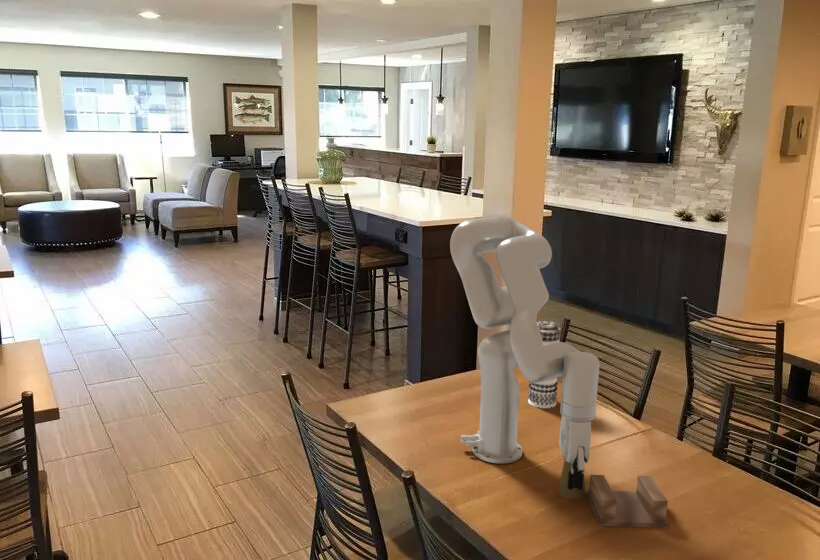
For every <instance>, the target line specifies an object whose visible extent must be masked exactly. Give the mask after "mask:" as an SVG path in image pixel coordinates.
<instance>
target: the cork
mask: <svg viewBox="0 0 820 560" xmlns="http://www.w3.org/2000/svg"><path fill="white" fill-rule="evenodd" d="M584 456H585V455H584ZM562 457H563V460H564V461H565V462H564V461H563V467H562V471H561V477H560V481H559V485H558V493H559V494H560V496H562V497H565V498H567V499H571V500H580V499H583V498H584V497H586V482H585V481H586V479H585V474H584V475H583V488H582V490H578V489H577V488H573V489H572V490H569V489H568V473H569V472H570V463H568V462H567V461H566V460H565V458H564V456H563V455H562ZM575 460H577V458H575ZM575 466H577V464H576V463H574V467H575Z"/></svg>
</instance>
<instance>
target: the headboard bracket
mask: <svg viewBox="0 0 820 560" xmlns="http://www.w3.org/2000/svg"><path fill="white" fill-rule="evenodd" d="M636 479H637V480H636V481H637V482H636V490H635V491H629V490H628V491H626V490H625V491H623V490H619V491H618V490H612V488H611V486H610V483H609V482H608V481H607V479H606V476H605V475H604V474H590V475H589V485H588V487H589V488H588V490H585V492H586V494H585V496H586V497H587V499H588V501H589V504H590V506H591V508H592V511H593V513H594V515H595V517H596V519H597V523H598V524H599V526H600V527H624V528H625V527H626V528H627V527H631V528H633V527H634V528H663V527H668V528H669V525H670V523H669V522H668V520H667V513H668V512H667V511H668V503H669V501H668V499H667V497H666V496H665V494H664V493H663V491H662V489H661V488H660V487H659V485H658V484H657V482H656V481H655V479H654V478H653V476H652V475H637V478H636Z"/></svg>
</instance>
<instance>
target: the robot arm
mask: <svg viewBox="0 0 820 560" xmlns="http://www.w3.org/2000/svg"><path fill="white" fill-rule="evenodd" d="M449 248H450V250H449V251H450V255H451V258H452V261H453V263H454V265H455V267H456V269H457V272H458V274H459V276H460V278H461V282H462V285H463V289H464V291H465V296H466V299H467V301H468V306H469V308H470V311H471V314H472V318H473V320H474V322H475V324H476V325H477V326H478V327H479V328H480V329H494V328H499V327H504V326H506V328H507V330H502V331H500V332H495V333H492V334H489V335H487V336H486V337H485V338H483V339H482V340H481V342H480V343H479V345H478V349H477V357H478V362H479V363H478V364H479V371H480V405H479V406H480V407H479V428H478V430H477V431H476V433H473V434H472V435H471V434H470V435H469V434H460V443H465V445H466V447H472V453H473V455H474V456H475V457H476V458H478V459H479V460H482V461H485V462H487V463H492V464H502V465H503V464H510V463H513V462H516V461H518V460H520V459H521V458H522V456H523V448H522V446H521V445H520V443H518V439H517V438H518V424H519V403H520V385H519V384H520V383H519V381H518V379H517V377H516V375H515V369H517V368H519V371H520V373H521V375H523V377H524V378H525V379H526V380H527V381H528V382H529V381H531V382H534V383H540V382H544V381H547V380H550V379H553V378H556V377H557V378H562V381H561V382H562V383H561V394H560V395H561V397H560V411H559V412H560V415H561V419H560V425H559V426H560V428H559V437H558V445H559V446H558V447H559V448H560V452H561V454H562V457H563V456H564V458H565V460H566V461H567V462H568V463H570V472H569V473H568V489H569V490H572V489H573V488H577V489H578V490H582V488H583V475H584V476H585V471H586V469H585V464H587V463H589V461H590V454H591V441H592V440H591V439H592V434H591V433H592V420H595V418H596V413H597V411H596V410H597V399H598V387H599V376H600V375H599V374H600V359H599V358H598V356H596V355H595V354H593V353H590V352H587V351H581V350H580V349H578V348H576V347H574V346H572V345H571V344H569V343H567V342H564V341H563V342H562V341H560V342H556V343H552V344H549V345H545V346H543V341H542V337H541V334H540V330H539V327H538V324H537V323H538V322H537V318H536V317H537V315H538V313H539V311H541V309H542V307H544V305H545V304H546V303H547V302H548V300H549V297H550V294H549V291H548V289H547V286H546V284H545V282H544V281H545V280H544V279H543V276H542V272H541V270H540V269H543V268H545V267H548V265H549V264H550V262H551V261H552V260H551V259H552V257H553V252H552V247H551V245H550V242H549V241H548V240H547V238H545V237H544V236H543V235H542V234H541V233H539V232H537V231H535V230H534V229H533V228H530V227H529V226H527V225H526V224H523V223H522V222H521V221H519V220H517V219H515V218H512V217H510V216H505V215H504V216H492V217H491V216H490V217H481V218H473V219H468V220H465V221H463V222H461V223H459V224H458V225H457V226H456V227H455V228H454V230H453V232H452V234H451V237H450V241H449ZM490 252H491V253H493V252H495V259H496V262H497V265H498V268H499V271H500V273H501V276H502V279H503V281H504V284H505V286H502V287H501V286H500V284H499V280H498V278H497V274H496V272H495V269H494V268H493V266H492V264H491V263H490V262H489V261H488V260H487V259H486V258H485V257H484V255H483V254H484V253H490ZM584 455H585V456H584ZM564 458H563V459H564ZM575 458H577V460H575ZM565 460H564V461H563V463H564V462H565ZM574 463H576V464H577V466H575V467H574Z"/></svg>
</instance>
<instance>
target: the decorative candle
mask: <svg viewBox="0 0 820 560" xmlns="http://www.w3.org/2000/svg"><path fill="white" fill-rule="evenodd" d="M537 324H538V327H539V330H540V334H541V337H542V341H543V346H545V345H549V344H552V343H556V342H561V341H560V331H561V328H560V327H559V326H558V324H557V323H555V322H553V321H550V320H540V321H538V322H537ZM528 382H529V384H528V387H529V389H528V391H527V392H528V396H527V398H528V400H527V402H528V403H527V404H529V405H530V406H532V407H534V408H538V407H539V408H538V409H552V408H554V407H556V406H557V401H558V398H557V396H558V392H557V390H558V385H559V382H558V377H556V378H553V379H550V380H547V381H544V382H540V383H534V382H531V381H529V380H528ZM551 407H552V408H551Z"/></svg>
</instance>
